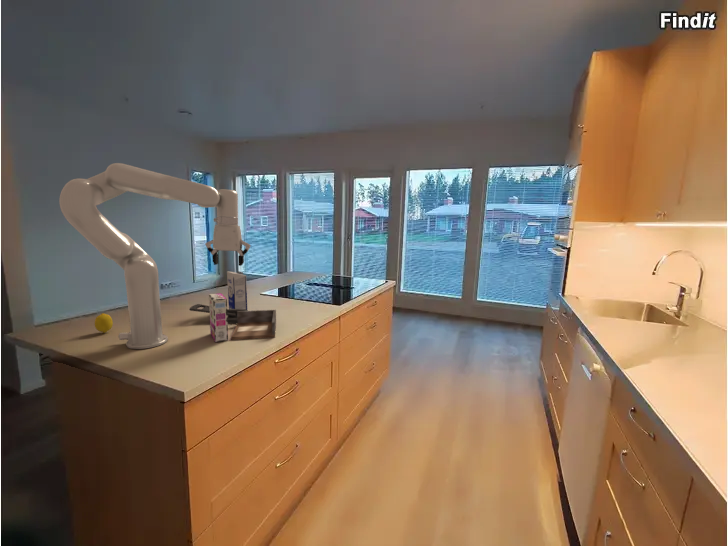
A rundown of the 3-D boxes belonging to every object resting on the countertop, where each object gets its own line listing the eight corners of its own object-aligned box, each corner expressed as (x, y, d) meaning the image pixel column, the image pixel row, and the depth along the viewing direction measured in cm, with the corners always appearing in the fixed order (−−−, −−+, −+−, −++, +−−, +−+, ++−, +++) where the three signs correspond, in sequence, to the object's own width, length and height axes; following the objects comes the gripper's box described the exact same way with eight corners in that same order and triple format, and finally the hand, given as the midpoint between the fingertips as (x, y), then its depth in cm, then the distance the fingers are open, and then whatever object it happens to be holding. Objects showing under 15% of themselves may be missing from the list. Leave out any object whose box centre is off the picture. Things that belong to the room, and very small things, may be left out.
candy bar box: (229, 340, 123) (227, 298, 120) (214, 343, 120) (212, 300, 117) (223, 331, 132) (221, 292, 129) (210, 333, 129) (207, 293, 127)
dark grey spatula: (196, 303, 149) (251, 304, 150) (197, 317, 150) (252, 318, 151) (187, 308, 141) (245, 309, 141) (187, 323, 142) (245, 324, 142)
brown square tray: (231, 340, 123) (230, 324, 122) (238, 325, 141) (237, 311, 140) (275, 337, 127) (274, 322, 126) (276, 323, 144) (275, 309, 143)
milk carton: (228, 310, 162) (226, 270, 159) (241, 308, 167) (240, 269, 164) (233, 313, 157) (232, 272, 154) (247, 311, 162) (246, 271, 158)
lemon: (117, 331, 129) (115, 312, 128) (102, 336, 124) (100, 316, 123) (106, 329, 131) (104, 310, 129) (92, 334, 125) (89, 314, 124)
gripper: (201, 220, 124) (202, 265, 126) (247, 222, 125) (247, 266, 127) (209, 220, 131) (210, 262, 133) (252, 222, 132) (252, 264, 135)
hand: (228, 264), depth 130 cm, fingers open, 9 cm apart
